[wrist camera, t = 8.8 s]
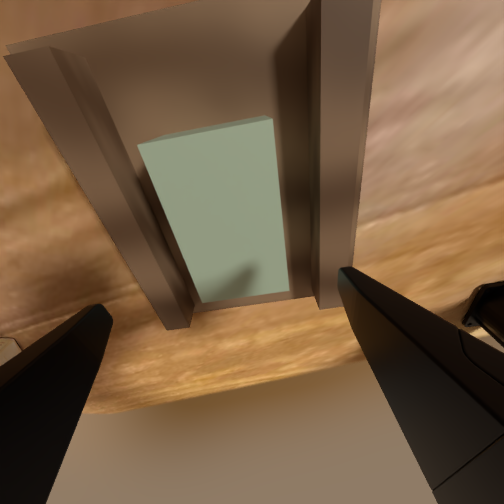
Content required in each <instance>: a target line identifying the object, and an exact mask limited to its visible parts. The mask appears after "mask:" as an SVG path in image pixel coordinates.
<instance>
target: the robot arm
mask: <svg viewBox="0 0 504 504" xmlns="http://www.w3.org/2000/svg"><path fill="white" fill-rule="evenodd" d="M337 287H338V291H339V294H340V297H341V300H342V303H343V305H344V308H345V311H346V314H347V317H348V319H349V322H350V325H351V328H352V330H353V332H354V334H355V336H356V338H357V340H358V342H359V344H360V346H361V348H362V351H363V353H364V355H365V357H366V359H367V361H368V363H369V365H370V366H371V369H372V371H373V373H374V375H375V377H376V379H377V381H378V383H379V385H380V387H381V389H382V391H383V393H384V395H385V397H386V399H387V401H388V403H389V405H390V407H391V409H392V411H393V413H394V415H395V417H396V419H397V421H398V423H399V425H400V427H401V430H402V432H403V433H404V436H405V438H406V440H407V442H408V444H409V446H410V448H411V450H412V452H413V454H414V456H415V458H416V460H417V462H418V464H419V466H420V468H421V470H422V472H423V474H424V476H425V478H426V480H427V482H428V484H429V486H430V488H431V489H432V490H433V491H432V493H433V494H434V497H435V499H436V501H437V503H438V504H504V353H503V352H501V351H499V350H497V349H496V348H494V347H492V346H490V345H488V344H486V343H485V342H483V341H481V340H479V339H477V338H476V337H474V336H472V335H470V334H469V333H467V332H465V331H463V330H462V329H458V328H457V327H456V326H455V325H453V324H451V323H449V322H448V321H446V320H444V319H442V318H441V317H439V316H437V315H435V314H434V313H432V312H430V311H428V310H427V309H425V308H423V307H421V306H420V305H418V304H416V303H415V302H413V301H411V300H409V299H408V298H406V297H404V296H402V295H401V294H399V293H397V292H395V291H394V290H392V289H390V288H388V287H387V286H385V285H383V284H381V283H380V282H378V281H376V280H374V279H373V278H371V277H369V276H367V275H366V274H364V273H362V272H361V271H359V270H357V269H355V268H354V267H351V266H347V267H341V268H339V270H338V281H337ZM462 324H463V325H464V326H465V327H472V326H481V327H482V328H483V329H484V330H485V331H486V332H487V333H489V334H490V335H491V336H492V337H493V338H494V339H495V340H496V341H497V342H498V343H499V344H501V346H503V347H504V282H501V283H494V284H487V285H485V286H483V287H482V288H481V289H480V291H479V293H478V295H477V297H476V298H475V300H474V302H473V304H472V306H471V307H470V309H469V311H468V313H467V315H466V316H465V318H464V320H463V322H462ZM112 325H113V318H112V316H111V315H110V314H109V312H108V311H107V310H106V309H105V307H104V306H103V305H102V304H93V305H89V306H87V307H85V308H84V309H82V310H81V311H79V312H78V313H77V314H75V315H74V316H72V317H71V318H69V319H68V320H66V321H65V322H64V323H62V324H61V325H59V326H58V327H56V328H55V329H53V330H52V331H51V332H49V333H48V334H46V335H45V336H43V337H42V338H40V339H39V340H37V341H36V342H35V343H33V344H32V345H30V346H29V347H27V348H26V349H24V350H23V351H22V352H20V353H19V354H17V355H16V356H14V357H13V358H11V359H10V360H9V361H7V362H6V363H4V364H3V365H1V366H0V504H46V502H47V500H48V497H49V494H50V492H51V489H52V487H53V484H54V482H55V479H56V477H57V474H58V472H59V469H60V467H61V464H62V461H63V459H64V456H65V454H66V451H67V449H68V446H69V444H70V441H71V439H72V436H73V434H74V431H75V429H76V426H77V423H78V421H79V418H80V416H81V413H82V411H83V408H84V406H85V403H86V401H87V398H88V396H89V393H90V390H91V388H92V385H93V383H94V380H95V378H96V375H97V373H98V370H99V368H100V365H101V362H102V359H103V356H104V352H105V349H106V345H107V342H108V339H109V335H110V332H111V328H112Z"/></svg>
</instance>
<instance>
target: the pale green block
mask: <svg viewBox="0 0 504 504" xmlns="http://www.w3.org/2000/svg"><path fill="white" fill-rule="evenodd" d="M137 146H138V149H139V151H140V154H141V156H142V158H143V161H144V163H145V166H146V168H147V171H148V173H149V175H150V178H151V180H152V183H153V185H154V187H155V190H156V192H157V195H158V197H159V200H160V202H161V204H162V207H163V209H164V212H165V214H166V217H167V219H168V221H169V224H170V226H171V229H172V231H173V233H174V236H175V238H176V241H177V243H178V246H179V248H180V250H181V253H182V255H183V258H184V260H185V262H186V265H187V267H188V270H189V272H190V275H191V277H192V279H193V282H194V284H195V287H196V289H197V292H198V294H199V296H200V299H201V301H202V303H207V302H214V301H221V300H228V299H235V298H242V297H249V296H256V295H263V294H270V293H277V292H284V291H289V281H288V271H287V260H286V250H285V240H284V230H283V219H282V209H281V199H280V189H279V178H278V168H277V158H276V148H275V138H274V127H273V119H272V118H270V117H268V116H265V115H264V116H259V117H254V118H249V119H243V120H238V121H233V122H228V123H223V124H218V125H213V126H208V127H203V128H197V129H192V130H187V131H182V132H177V133H172V134H167V135H163V136H160V137H157V138H155V139H152V140H149V141H146V142H144V143H141V144H138V145H137Z"/></svg>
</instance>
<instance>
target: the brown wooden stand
mask: <svg viewBox="0 0 504 504" xmlns="http://www.w3.org/2000/svg"><path fill="white" fill-rule="evenodd" d="M380 8H381V0H199V1H194V2H190V3H186V4H181V5H177V6H173V7H169V8H164V9H160V10H156V11H151V12H147V13H143V14H139V15H134V16H130V17H126V18H121V19H117V20H113V21H108V22H104V23H100V24H96V25H91V26H87V27H83V28H78V29H74V30H70V31H66V32H61V33H57V34H53V35H48V36H44V37H40V38H35V39H31V40H27V41H23V42H18V43H14V44H10V45H5V46H6V47H7V49H8V51H9V52H10V54H11V55H6V56H3V57H4V59H5V60H6V62H7V64H8V65H9V67H10V69H11V70H12V72H13V74H14V75H15V77H16V79H17V80H18V82H19V84H20V85H21V87H22V89H23V90H24V92H25V94H26V95H27V97H28V99H29V101H30V102H31V104H32V106H33V107H34V109H35V111H36V112H37V114H38V116H39V117H40V119H41V121H42V122H43V124H44V126H45V127H46V129H47V131H48V132H49V134H50V136H51V137H52V139H53V141H54V142H55V144H56V146H57V147H58V149H59V151H60V152H61V154H62V156H63V157H64V159H65V161H66V162H67V164H68V166H69V167H70V169H71V171H72V172H73V174H74V176H75V177H76V179H77V181H78V183H79V184H80V186H81V188H82V189H83V191H84V193H85V194H86V196H87V198H88V199H89V201H90V203H91V204H92V206H93V208H94V209H95V211H96V213H97V214H98V216H99V218H100V219H101V221H102V223H103V224H104V226H105V228H106V229H107V231H108V233H109V234H110V236H111V238H112V239H113V241H114V243H115V244H116V246H117V248H118V249H119V251H120V253H121V254H122V256H123V258H124V259H125V261H126V263H127V265H128V266H129V268H130V270H131V271H132V273H133V275H134V276H135V278H136V280H137V281H138V283H139V285H140V286H141V288H142V290H143V291H144V293H145V295H146V296H147V298H148V300H149V301H150V303H151V305H152V306H153V308H154V310H155V311H156V313H157V315H158V316H159V318H160V320H161V321H162V323H163V325H164V326H165V328H166V330H174V329H181V328H189V327H190V323H191V319H192V315H193V313H197V312H204V311H212V310H219V309H226V308H233V307H240V306H247V305H254V304H262V303H269V302H276V301H283V300H290V299H297V298H304V297H311V296H315V299H316V302H317V304H318V307H319V310H321V309H328V308H336V307H343V306H344V305H343V303H342V300H341V297H340V294H339V291H338V287H337V281H338V270H339V268H341V267H347V266H351V267H352V265H353V256H354V246H355V237H356V228H357V219H358V210H359V200H360V191H361V182H362V173H363V164H364V155H365V145H366V136H367V127H368V118H369V109H370V99H371V90H372V81H373V72H374V63H375V54H376V44H377V35H378V26H379V17H380ZM264 115H265V116H268V117H270V118H272V119H273V127H274V138H275V148H276V158H277V168H278V178H279V189H280V199H281V209H282V219H283V230H284V240H285V250H286V260H287V271H288V281H289V291H284V292H277V293H270V294H263V295H256V296H249V297H242V298H235V299H228V300H221V301H214V302H207V303H202V301H201V299H200V296H199V294H198V292H197V289H196V287H195V284H194V282H193V279H192V277H191V275H190V272H189V270H188V267H187V265H186V262H185V260H184V258H183V255H182V253H181V250H180V248H179V246H178V243H177V241H176V238H175V236H174V233H173V231H172V229H171V226H170V224H169V221H168V219H167V217H166V214H165V212H164V209H163V207H162V204H161V202H160V200H159V197H158V195H157V192H156V190H155V187H154V185H153V183H152V180H151V178H150V175H149V173H148V171H147V168H146V166H145V163H144V161H143V158H142V156H141V154H140V151H139V149H138V146H137V145H138V144H141V143H144V142H146V141H149V140H152V139H155V138H157V137H160V136H163V135H167V134H172V133H177V132H182V131H187V130H192V129H197V128H203V127H208V126H213V125H218V124H223V123H228V122H233V121H238V120H243V119H249V118H254V117H259V116H264Z"/></svg>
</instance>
